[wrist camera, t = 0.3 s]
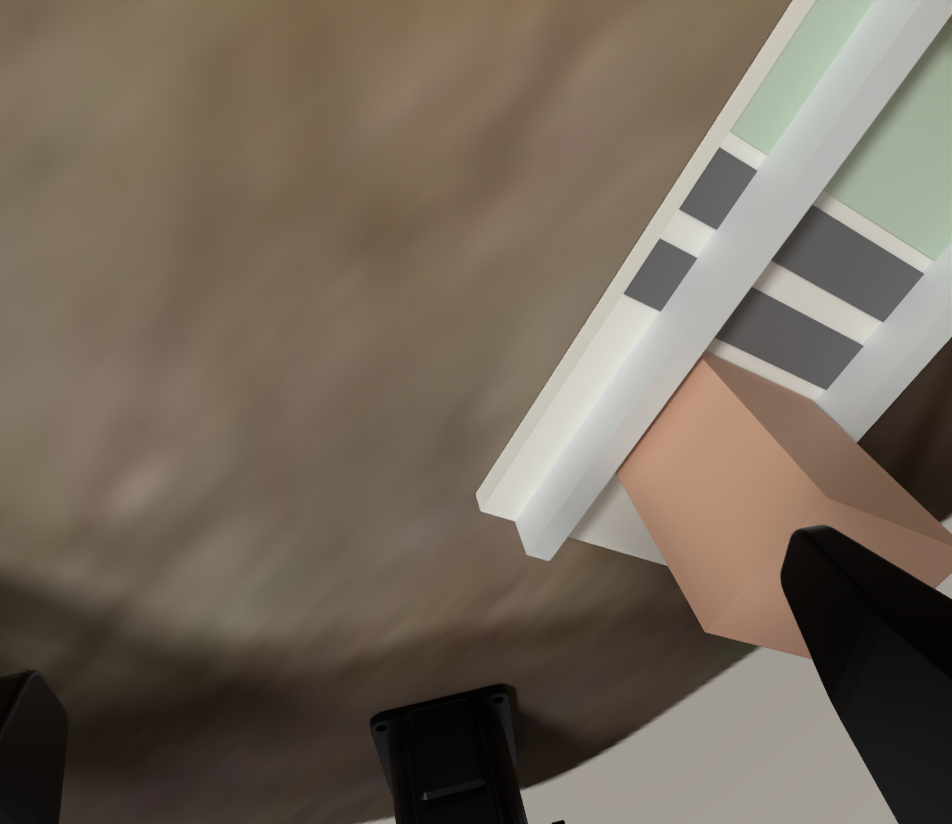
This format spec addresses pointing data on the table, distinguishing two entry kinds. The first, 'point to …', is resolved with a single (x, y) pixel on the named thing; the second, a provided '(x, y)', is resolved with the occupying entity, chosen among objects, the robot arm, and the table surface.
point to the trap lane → (764, 264)
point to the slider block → (763, 499)
